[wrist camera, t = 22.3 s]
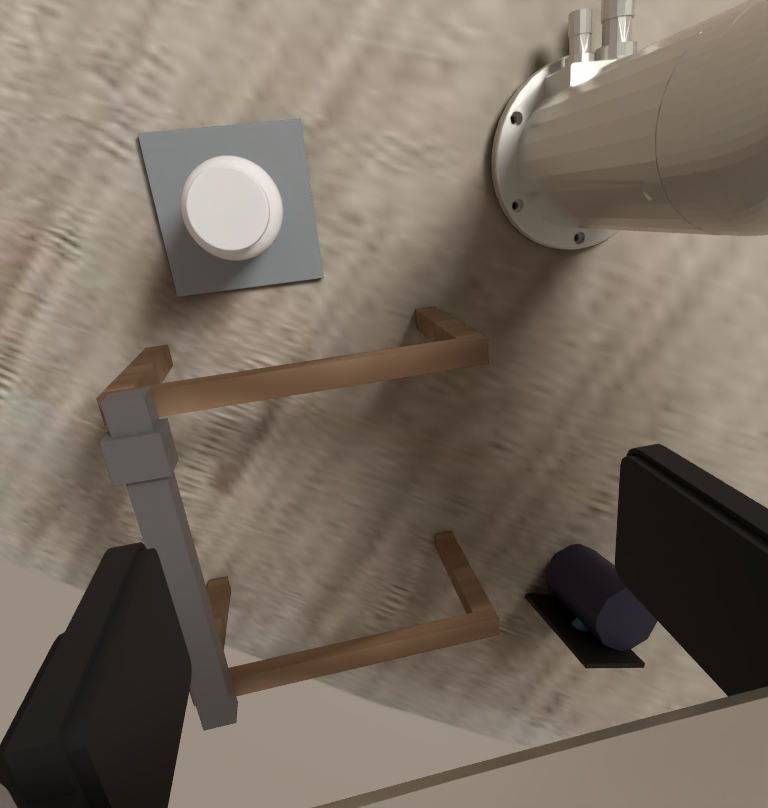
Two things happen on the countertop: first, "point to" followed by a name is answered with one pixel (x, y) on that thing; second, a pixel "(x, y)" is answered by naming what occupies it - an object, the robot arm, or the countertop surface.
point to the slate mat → (279, 158)
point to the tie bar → (169, 539)
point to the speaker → (593, 610)
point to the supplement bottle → (232, 208)
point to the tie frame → (445, 352)
